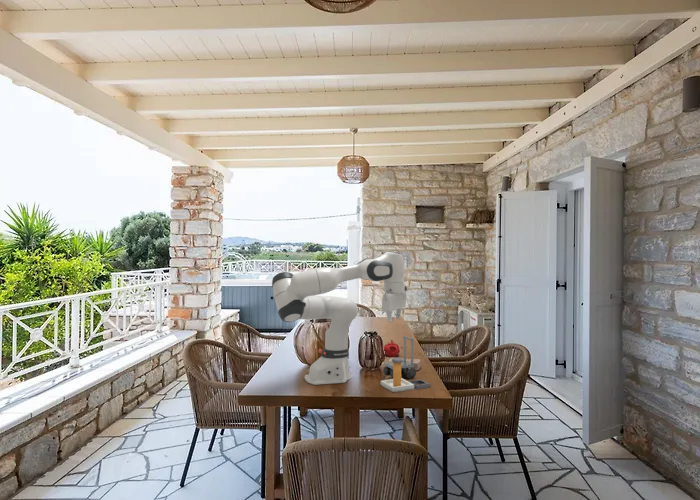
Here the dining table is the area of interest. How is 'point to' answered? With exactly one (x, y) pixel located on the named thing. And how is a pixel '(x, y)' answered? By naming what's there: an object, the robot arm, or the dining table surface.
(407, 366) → the trolley
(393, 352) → the red hollow tomato
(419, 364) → the brick
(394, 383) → the pin
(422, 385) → the socket
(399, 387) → the tray
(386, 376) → the block
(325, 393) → the dining table surface
